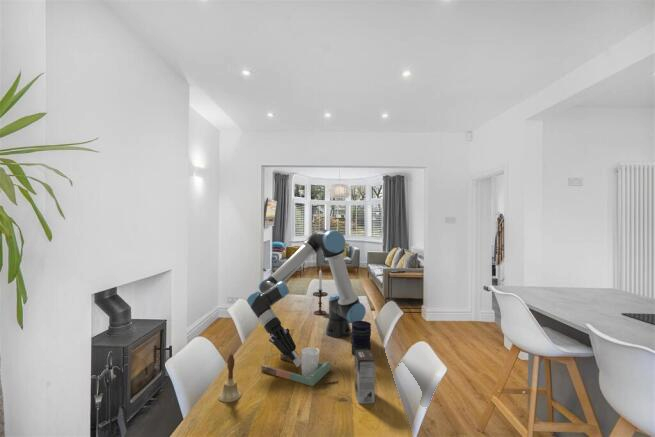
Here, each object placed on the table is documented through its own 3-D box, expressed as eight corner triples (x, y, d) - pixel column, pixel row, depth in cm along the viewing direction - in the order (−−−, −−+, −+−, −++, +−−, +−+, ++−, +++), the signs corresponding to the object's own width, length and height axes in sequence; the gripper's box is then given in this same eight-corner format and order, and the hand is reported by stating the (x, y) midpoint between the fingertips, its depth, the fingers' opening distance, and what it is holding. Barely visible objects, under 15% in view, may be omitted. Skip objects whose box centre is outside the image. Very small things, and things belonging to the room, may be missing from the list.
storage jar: (359, 347, 165) (360, 319, 165) (374, 353, 158) (375, 323, 158) (347, 353, 158) (347, 323, 158) (362, 359, 151) (362, 328, 151)
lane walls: (261, 371, 138) (261, 365, 138) (281, 358, 152) (281, 352, 152) (276, 375, 134) (276, 369, 134) (295, 361, 148) (295, 356, 148)
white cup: (303, 379, 131) (304, 356, 131) (297, 370, 138) (298, 348, 138) (321, 376, 134) (321, 353, 134) (314, 367, 141) (315, 346, 141)
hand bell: (242, 389, 123) (242, 349, 123) (240, 401, 115) (240, 358, 115) (220, 391, 121) (220, 350, 122) (216, 403, 113) (217, 359, 113)
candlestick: (325, 316, 219) (326, 266, 220) (310, 315, 222) (311, 265, 222) (328, 311, 230) (329, 264, 230) (314, 310, 232) (315, 263, 233)
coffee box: (353, 390, 123) (354, 349, 123) (369, 390, 123) (370, 349, 124) (358, 404, 114) (358, 359, 114) (375, 403, 114) (375, 359, 115)
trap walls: (276, 375, 134) (276, 369, 134) (295, 361, 148) (295, 356, 148) (289, 379, 131) (289, 373, 131) (308, 364, 145) (308, 359, 145)
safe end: (289, 379, 131) (289, 370, 131) (308, 364, 145) (308, 356, 145) (312, 386, 126) (312, 376, 126) (329, 370, 140) (329, 361, 140)
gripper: (274, 322, 152) (302, 363, 145) (256, 330, 141) (286, 376, 133) (283, 313, 150) (312, 354, 142) (265, 320, 139) (297, 366, 131)
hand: (299, 365), depth 138 cm, fingers closed
